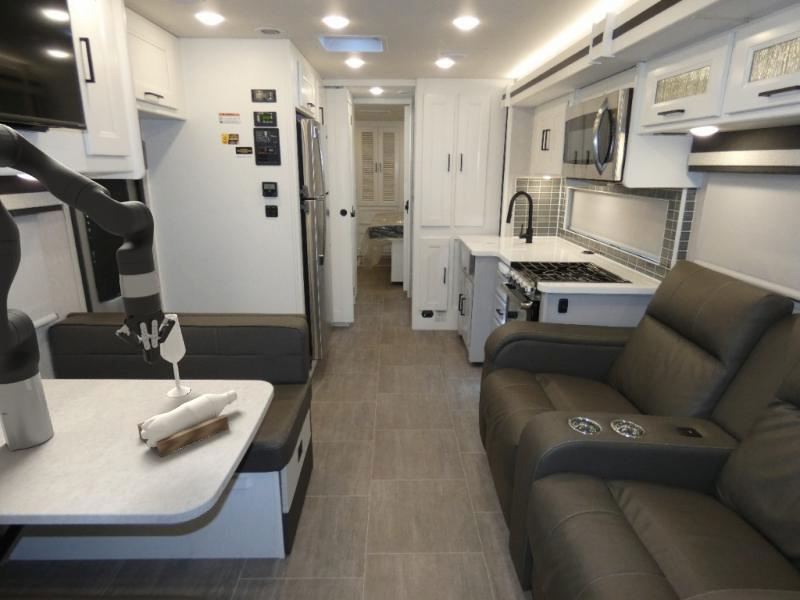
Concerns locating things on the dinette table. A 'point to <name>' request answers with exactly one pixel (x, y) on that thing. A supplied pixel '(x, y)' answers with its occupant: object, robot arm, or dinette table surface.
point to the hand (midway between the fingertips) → (152, 362)
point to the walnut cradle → (188, 435)
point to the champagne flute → (174, 354)
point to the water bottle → (185, 416)
